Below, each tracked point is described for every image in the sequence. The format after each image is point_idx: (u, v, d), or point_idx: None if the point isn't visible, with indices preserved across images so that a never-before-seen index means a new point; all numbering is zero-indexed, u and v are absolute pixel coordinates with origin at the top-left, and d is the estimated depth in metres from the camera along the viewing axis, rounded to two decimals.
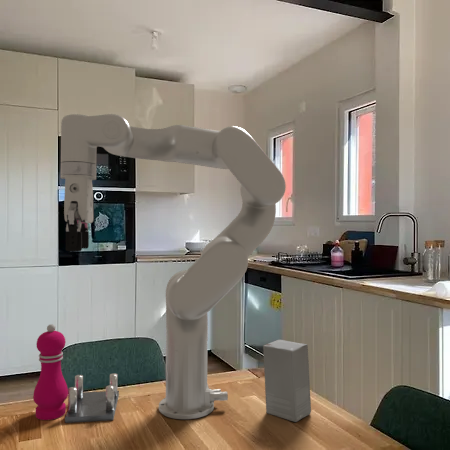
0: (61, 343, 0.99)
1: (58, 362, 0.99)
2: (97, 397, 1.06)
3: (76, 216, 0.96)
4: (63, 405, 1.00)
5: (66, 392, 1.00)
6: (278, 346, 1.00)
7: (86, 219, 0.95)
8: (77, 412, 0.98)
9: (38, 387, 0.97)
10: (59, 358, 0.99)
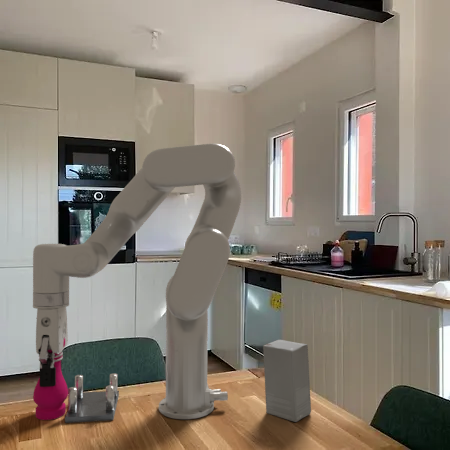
0: None
1: (58, 362, 0.99)
2: (97, 397, 1.06)
3: (48, 347, 0.97)
4: (63, 405, 1.00)
5: (66, 392, 1.00)
6: (278, 346, 1.00)
7: (58, 352, 0.96)
8: (77, 412, 0.98)
9: (38, 387, 0.97)
10: (59, 358, 0.99)
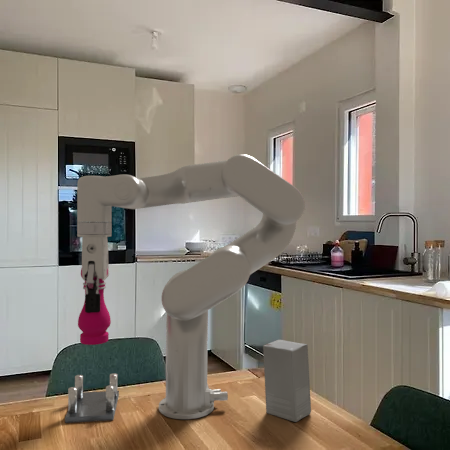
0: None
1: (101, 290, 1.02)
2: (97, 397, 1.06)
3: (93, 274, 1.00)
4: (107, 333, 1.03)
5: (109, 320, 1.03)
6: (278, 346, 1.00)
7: (103, 278, 0.99)
8: (77, 412, 0.98)
9: (83, 314, 1.01)
10: (103, 286, 1.02)
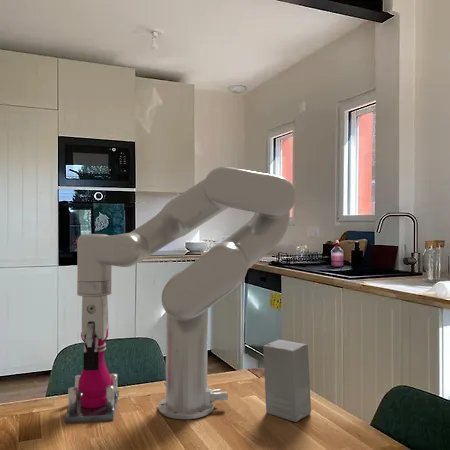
0: None
1: (102, 352, 1.02)
2: None
3: (93, 334, 1.00)
4: None
5: (110, 381, 1.03)
6: (278, 346, 1.00)
7: (103, 338, 0.99)
8: (77, 412, 0.98)
9: (84, 377, 1.01)
10: (103, 348, 1.02)
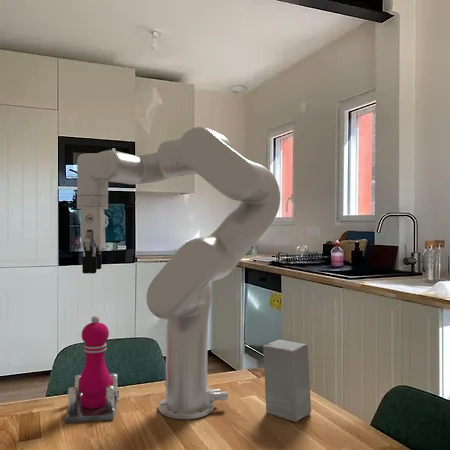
0: (105, 334, 1.02)
1: (102, 352, 1.02)
2: None
3: (91, 242, 1.10)
4: None
5: (110, 382, 1.03)
6: (278, 346, 1.00)
7: (100, 245, 1.09)
8: (77, 412, 0.98)
9: (84, 377, 1.01)
10: (104, 348, 1.02)
